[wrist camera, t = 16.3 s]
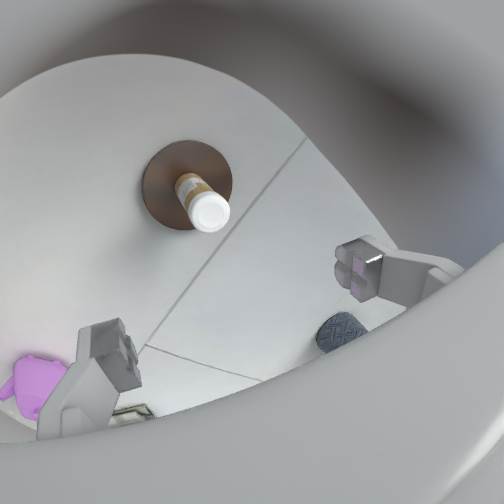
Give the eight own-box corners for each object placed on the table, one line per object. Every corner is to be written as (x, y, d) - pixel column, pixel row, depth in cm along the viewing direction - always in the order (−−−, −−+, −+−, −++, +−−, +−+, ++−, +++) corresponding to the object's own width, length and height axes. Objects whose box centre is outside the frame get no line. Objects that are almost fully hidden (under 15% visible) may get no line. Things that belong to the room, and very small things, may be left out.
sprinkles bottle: (209, 185, 45) (239, 212, 34) (188, 207, 45) (211, 242, 34) (188, 166, 42) (211, 186, 31) (167, 188, 42) (182, 218, 31)
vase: (309, 332, 72) (378, 413, 49) (347, 303, 73) (423, 374, 49) (322, 353, 79) (382, 425, 55) (356, 327, 80) (421, 392, 56)
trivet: (132, 153, 39) (133, 154, 38) (222, 132, 43) (225, 132, 42) (154, 237, 46) (155, 240, 45) (235, 213, 50) (238, 216, 49)
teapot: (85, 358, 51) (85, 407, 40) (86, 394, 54) (88, 439, 44) (0, 341, 41) (-14, 387, 30) (9, 380, 45) (1, 424, 34)
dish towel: (113, 445, 65) (114, 453, 63) (82, 415, 57) (82, 425, 54) (169, 432, 71) (172, 441, 68) (146, 400, 62) (148, 410, 59)
